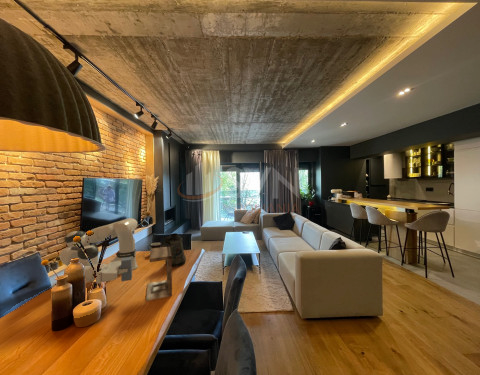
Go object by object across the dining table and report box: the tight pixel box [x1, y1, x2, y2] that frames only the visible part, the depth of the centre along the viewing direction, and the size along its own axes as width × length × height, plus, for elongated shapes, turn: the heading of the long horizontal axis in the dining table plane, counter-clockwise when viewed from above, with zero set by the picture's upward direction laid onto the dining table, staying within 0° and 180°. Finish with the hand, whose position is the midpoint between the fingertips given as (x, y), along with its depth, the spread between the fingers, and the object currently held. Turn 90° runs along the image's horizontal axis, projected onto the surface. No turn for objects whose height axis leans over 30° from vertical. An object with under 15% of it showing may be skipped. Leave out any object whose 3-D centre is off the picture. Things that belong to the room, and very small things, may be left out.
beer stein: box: [161, 232, 187, 268], centre depth 169 cm, size 16×19×25 cm
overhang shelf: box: [145, 246, 173, 302], centre depth 127 cm, size 14×20×24 cm
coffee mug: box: [147, 242, 162, 251], centre depth 193 cm, size 12×9×10 cm
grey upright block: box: [120, 257, 133, 282], centre depth 120 cm, size 5×5×12 cm
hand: (128, 267), depth 120 cm, fingers closed on grey upright block, 5 cm apart
